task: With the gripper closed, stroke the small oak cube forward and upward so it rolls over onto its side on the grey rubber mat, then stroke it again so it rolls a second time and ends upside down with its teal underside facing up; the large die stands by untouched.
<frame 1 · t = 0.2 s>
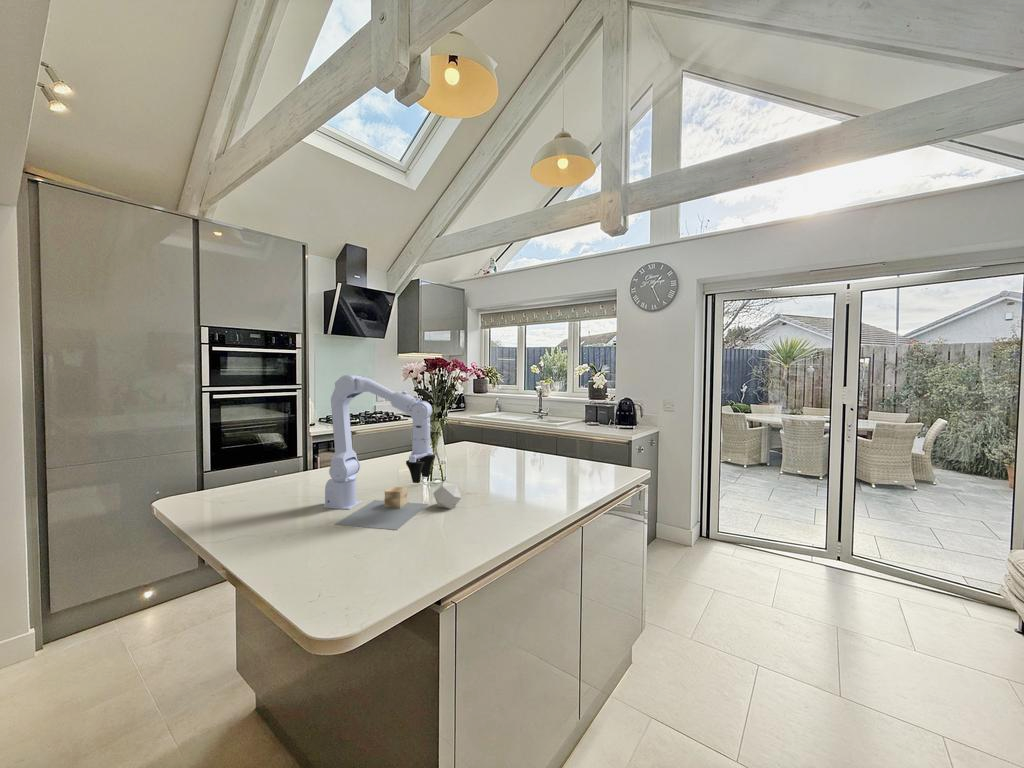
hand: (420, 479, 139), 10 cm above the countertop, tool pointing down, fingers open, 7 cm apart
die: (447, 507, 143), on the countertop
rubber mat: (384, 514, 135), on the countertop
oak block: (396, 505, 143), resting on rubber mat
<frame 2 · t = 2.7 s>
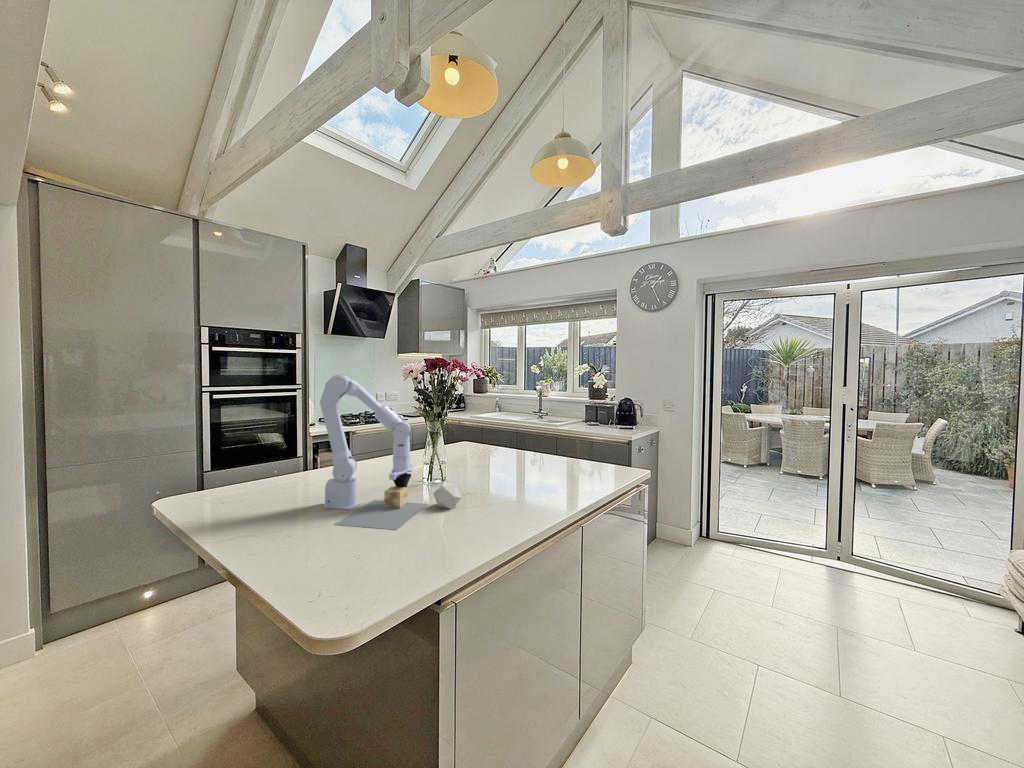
hand: (401, 495, 146), 3 cm above the countertop, tool pointing down, fingers closed
oak block: (396, 505, 143), resting on rubber mat, touching gripper
everything else where it was.
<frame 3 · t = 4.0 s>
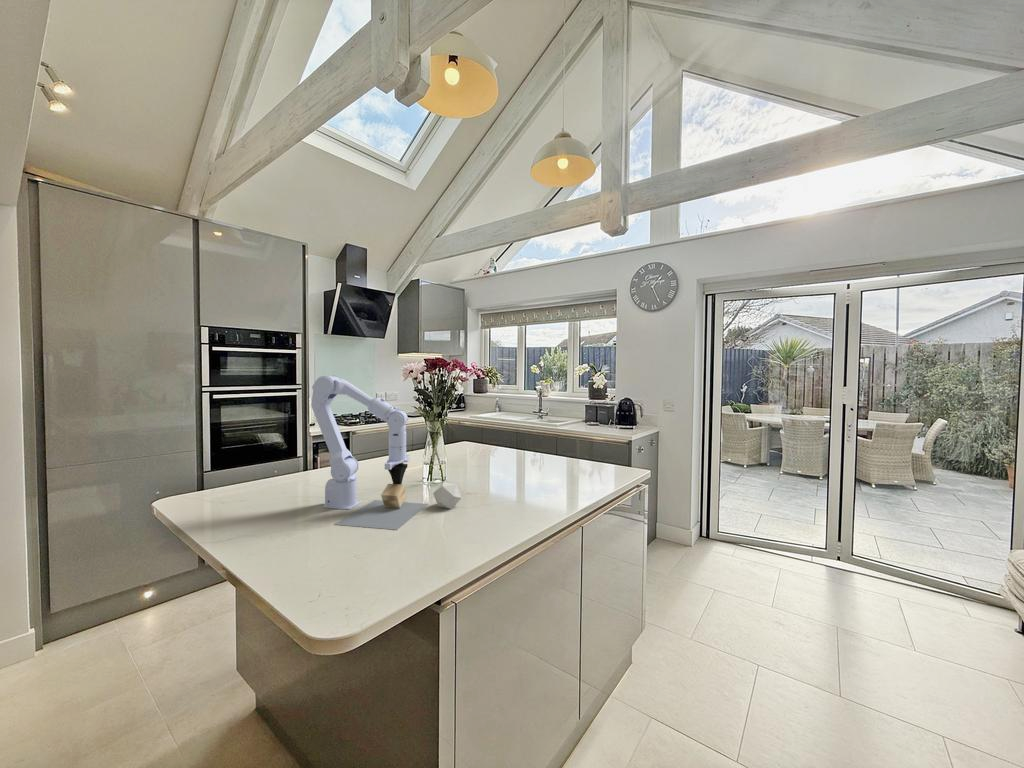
hand: (397, 486, 143), 7 cm above the countertop, tool pointing down, fingers closed
oak block: (395, 502, 142), point 1 cm above the countertop, tilted 26°, touching gripper, rubber mat
everything else where it was.
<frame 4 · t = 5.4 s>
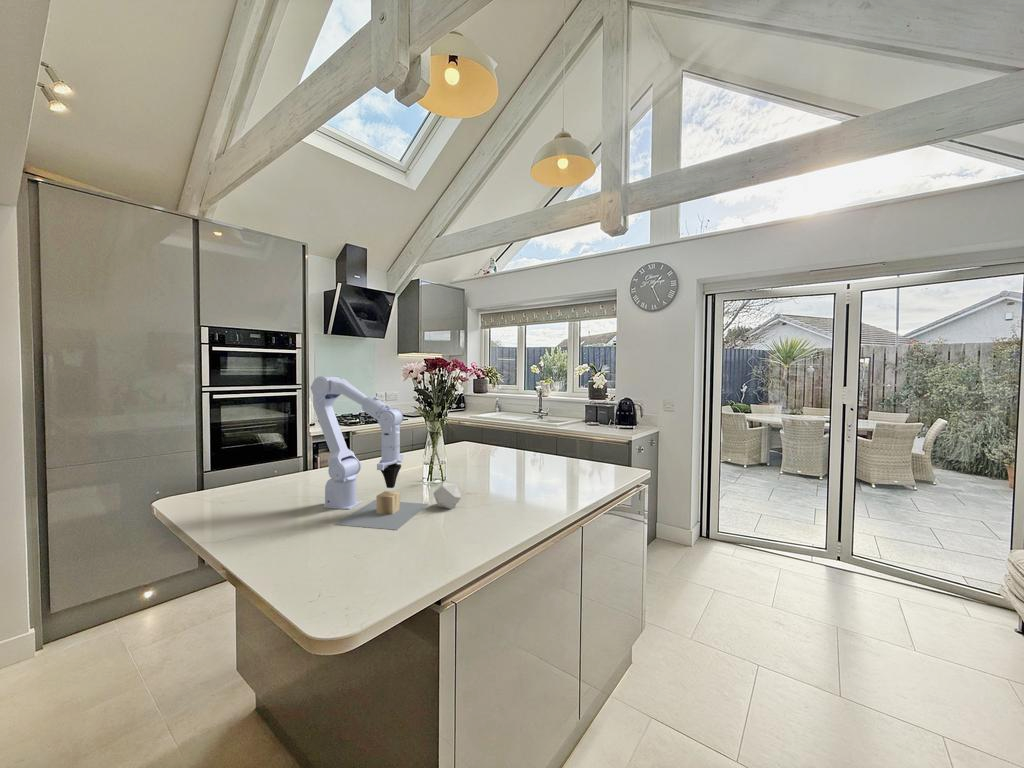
hand: (390, 487, 138), 7 cm above the countertop, tool pointing down, fingers closed
oak block: (392, 499, 140), point 3 cm above the countertop, tilted 90°, touching rubber mat
everything else where it was.
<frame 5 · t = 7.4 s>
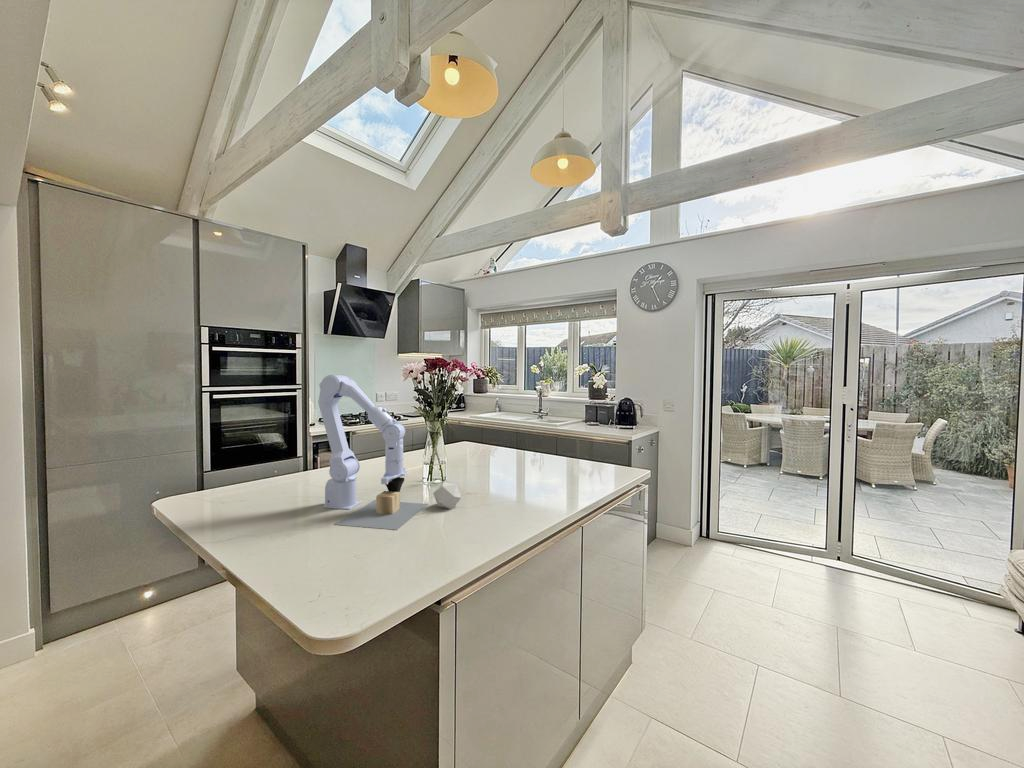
hand: (394, 500, 141), 2 cm above the countertop, tool pointing down, fingers closed
oak block: (392, 499, 140), point 3 cm above the countertop, tilted 91°, touching gripper, rubber mat
everything else where it was.
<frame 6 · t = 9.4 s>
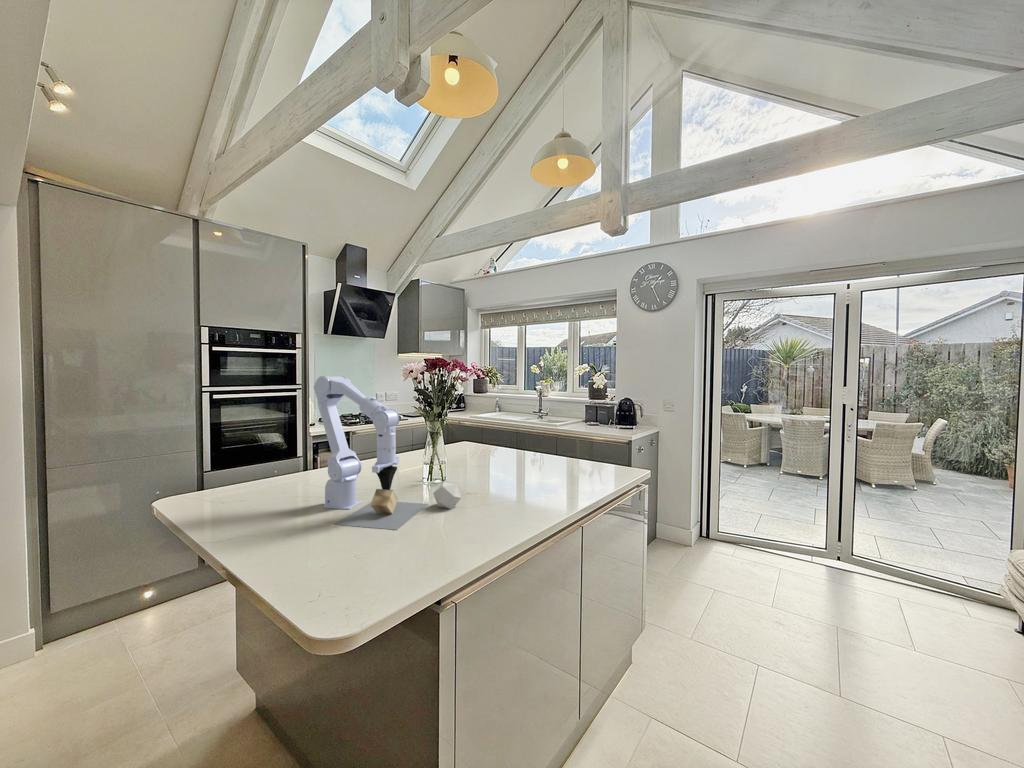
hand: (386, 490, 136), 7 cm above the countertop, tool pointing down, fingers closed
oak block: (387, 493, 136), point 6 cm above the countertop, tilted 135°, touching gripper, rubber mat
everything else where it was.
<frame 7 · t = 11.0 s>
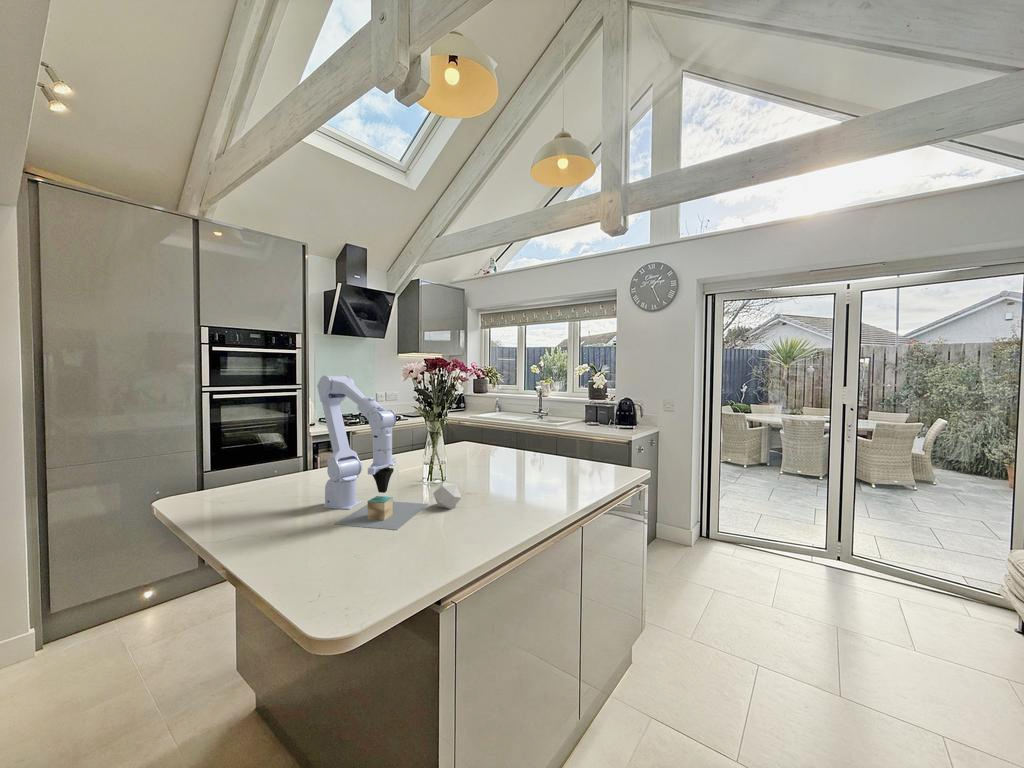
hand: (382, 492, 133), 7 cm above the countertop, tool pointing down, fingers closed
oak block: (380, 499, 132), point 6 cm above the countertop, tilted 180°, touching rubber mat
everything else where it was.
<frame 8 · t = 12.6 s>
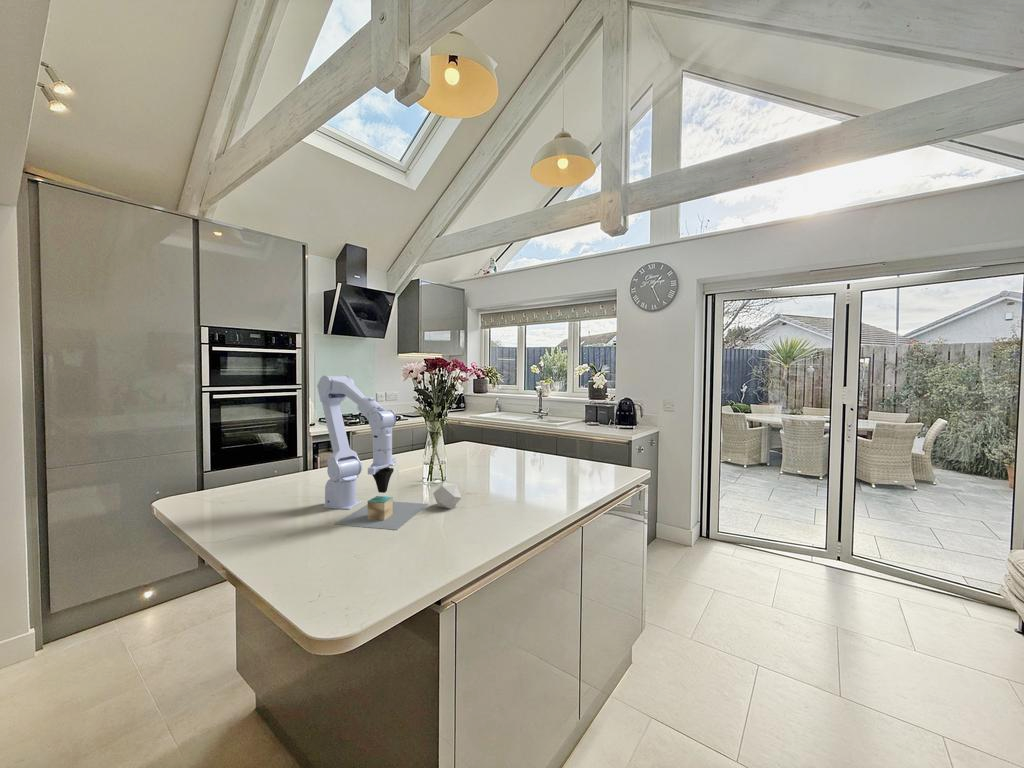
hand: (382, 492, 133), 7 cm above the countertop, tool pointing down, fingers closed
nothing on the countertop moved.
at the end: oak block tilted 180°; oak block inside the target area (1.5 cm from its centre), point 5.7 cm above the countertop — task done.
